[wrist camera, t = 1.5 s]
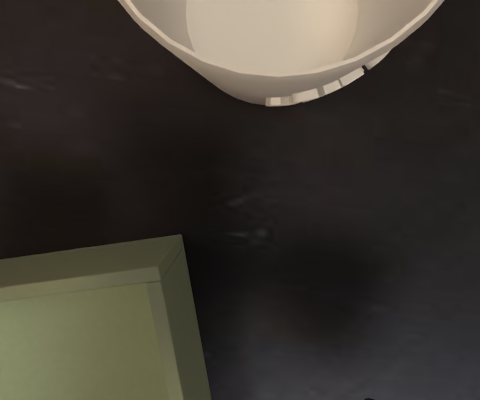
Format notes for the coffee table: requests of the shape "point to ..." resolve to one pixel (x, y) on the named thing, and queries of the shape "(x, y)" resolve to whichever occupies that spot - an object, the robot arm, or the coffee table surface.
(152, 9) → the mug
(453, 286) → the coffee table surface
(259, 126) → the coffee table surface
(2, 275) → the open storage box
